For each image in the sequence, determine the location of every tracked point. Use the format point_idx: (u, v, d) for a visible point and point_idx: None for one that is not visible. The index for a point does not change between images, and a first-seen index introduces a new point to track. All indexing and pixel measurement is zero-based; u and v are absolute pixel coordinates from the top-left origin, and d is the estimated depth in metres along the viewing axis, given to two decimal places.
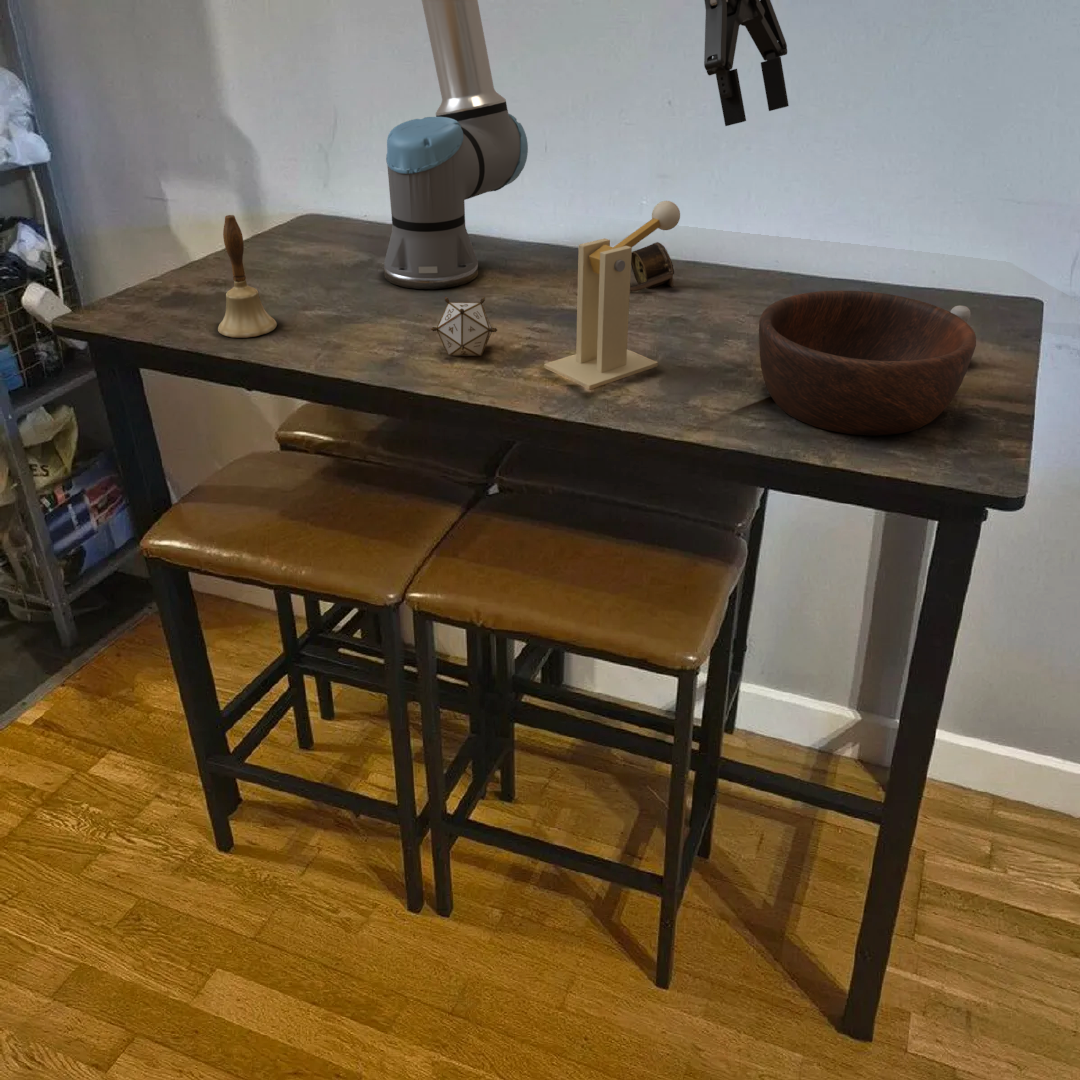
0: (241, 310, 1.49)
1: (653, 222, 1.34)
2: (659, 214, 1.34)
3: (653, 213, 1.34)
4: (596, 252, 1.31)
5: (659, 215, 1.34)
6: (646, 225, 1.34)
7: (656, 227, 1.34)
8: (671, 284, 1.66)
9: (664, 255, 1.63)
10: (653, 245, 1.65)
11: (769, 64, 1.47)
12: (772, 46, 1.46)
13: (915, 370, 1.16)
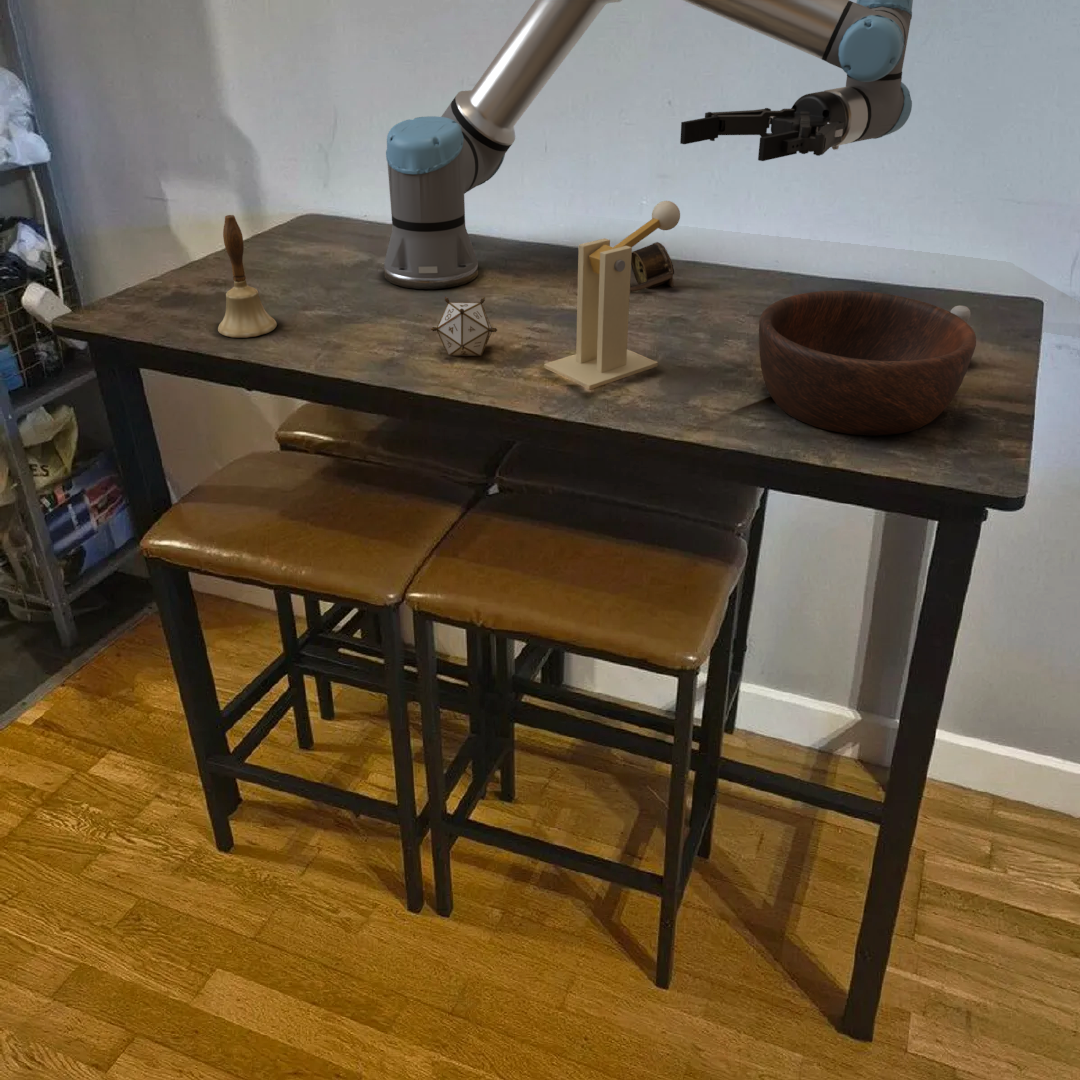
0: (241, 310, 1.49)
1: (653, 222, 1.34)
2: (659, 214, 1.34)
3: (653, 213, 1.34)
4: (596, 252, 1.31)
5: (659, 215, 1.34)
6: (646, 225, 1.34)
7: (656, 227, 1.34)
8: (671, 284, 1.66)
9: (664, 255, 1.63)
10: (653, 245, 1.65)
11: (715, 127, 1.43)
12: (727, 132, 1.45)
13: (915, 370, 1.16)
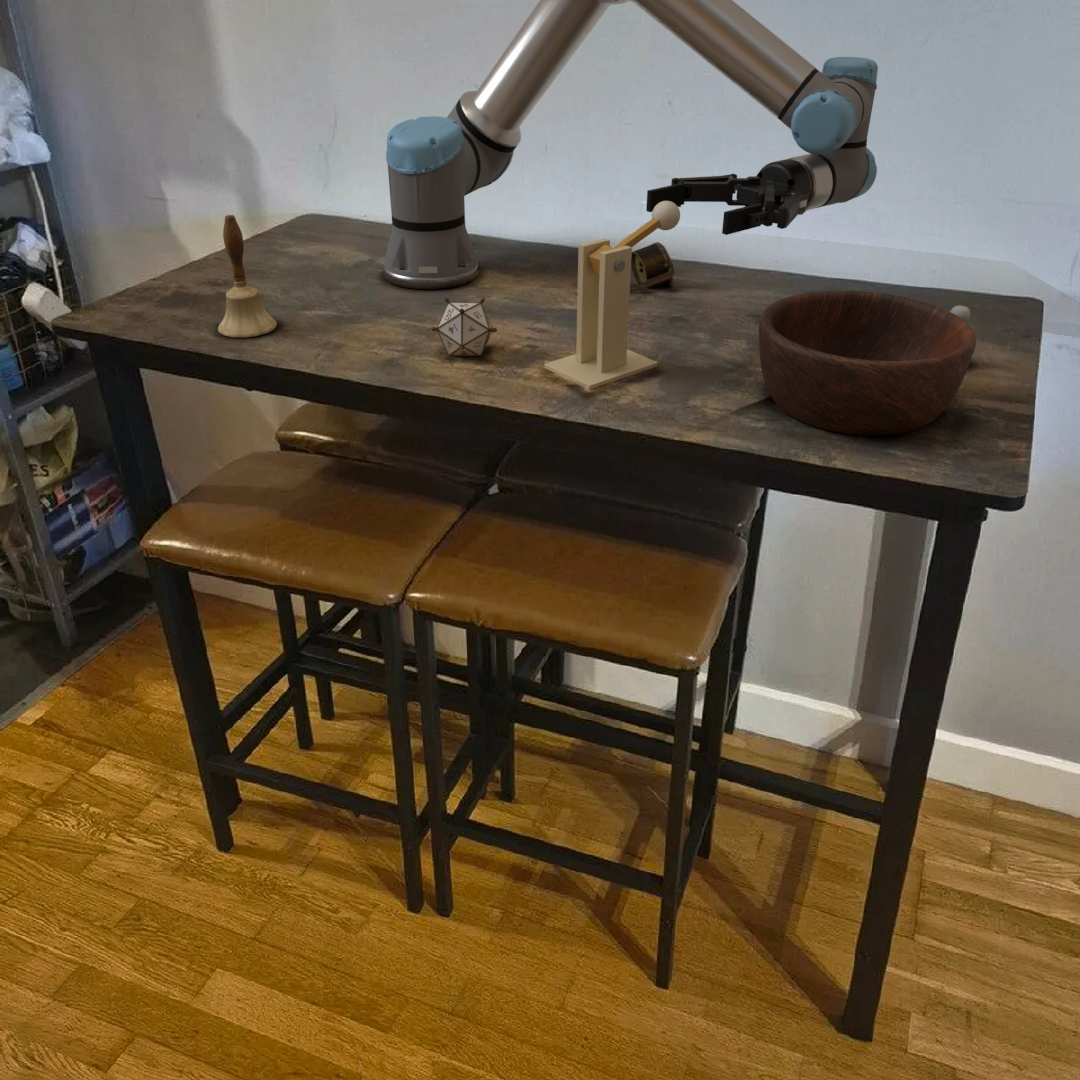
0: (241, 310, 1.49)
1: (653, 222, 1.34)
2: (659, 214, 1.34)
3: (653, 213, 1.34)
4: (596, 252, 1.31)
5: (659, 215, 1.34)
6: (646, 225, 1.34)
7: (656, 227, 1.34)
8: (671, 284, 1.66)
9: (664, 255, 1.63)
10: (653, 245, 1.65)
11: (682, 194, 1.44)
12: (693, 199, 1.46)
13: (915, 370, 1.16)
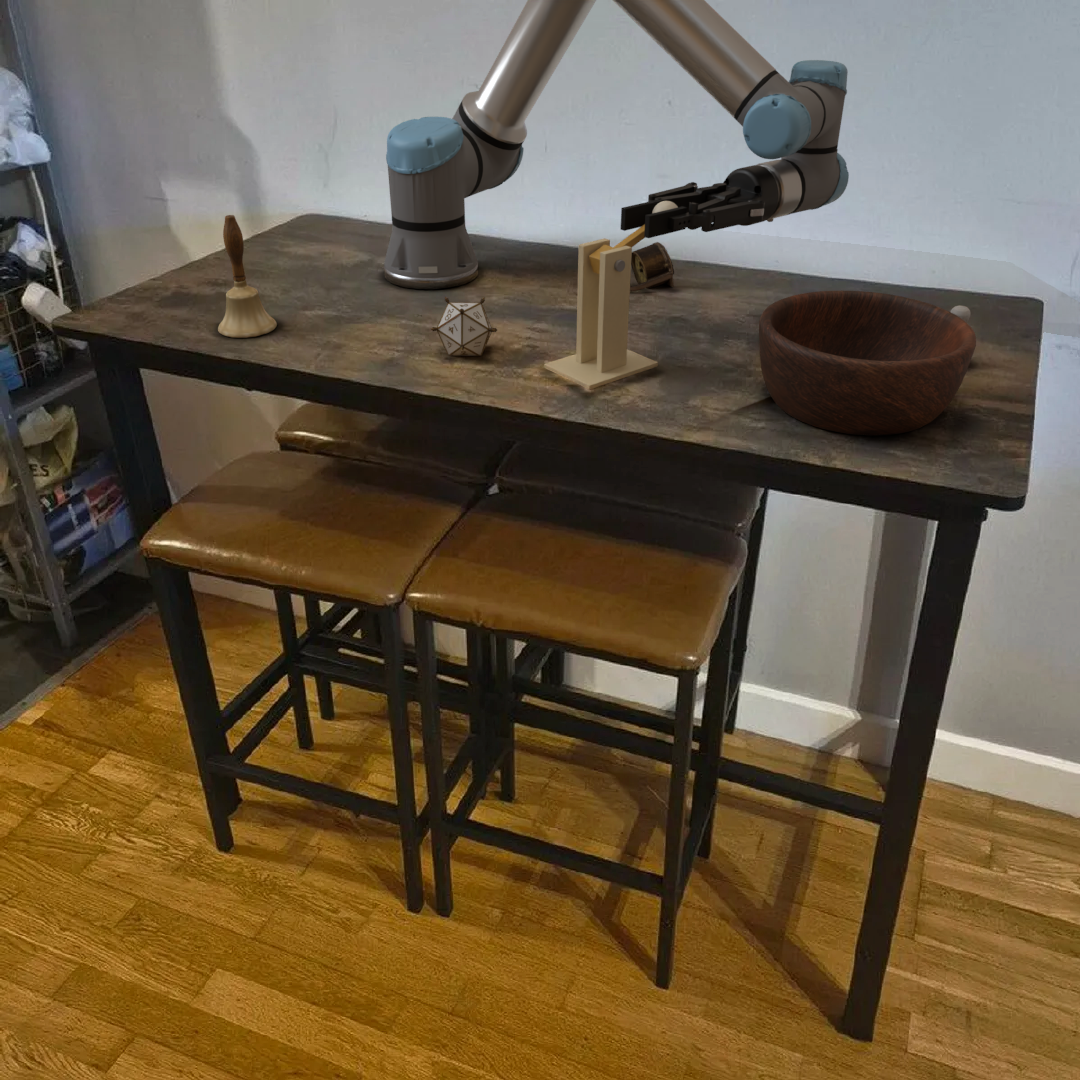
0: (241, 310, 1.49)
1: None
2: None
3: None
4: (596, 252, 1.31)
5: None
6: None
7: None
8: (671, 284, 1.66)
9: (664, 255, 1.63)
10: (653, 245, 1.65)
11: None
12: None
13: (915, 370, 1.16)
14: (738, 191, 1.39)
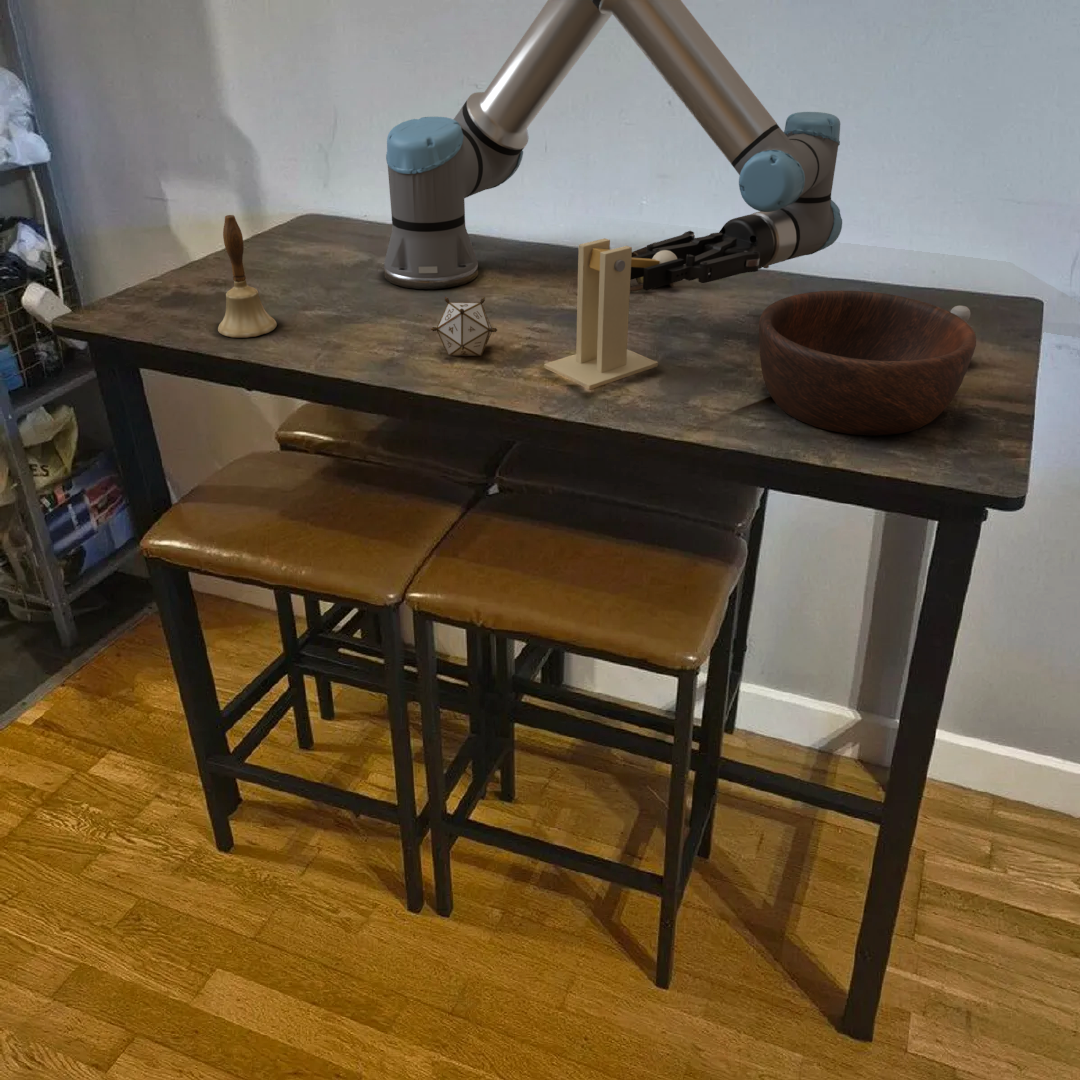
0: (241, 310, 1.49)
1: (654, 260, 1.37)
2: (661, 256, 1.37)
3: (655, 255, 1.38)
4: (600, 249, 1.31)
5: (661, 257, 1.37)
6: (647, 259, 1.36)
7: None
8: (671, 284, 1.66)
9: None
10: None
11: None
12: None
13: (915, 370, 1.16)
14: (734, 241, 1.43)
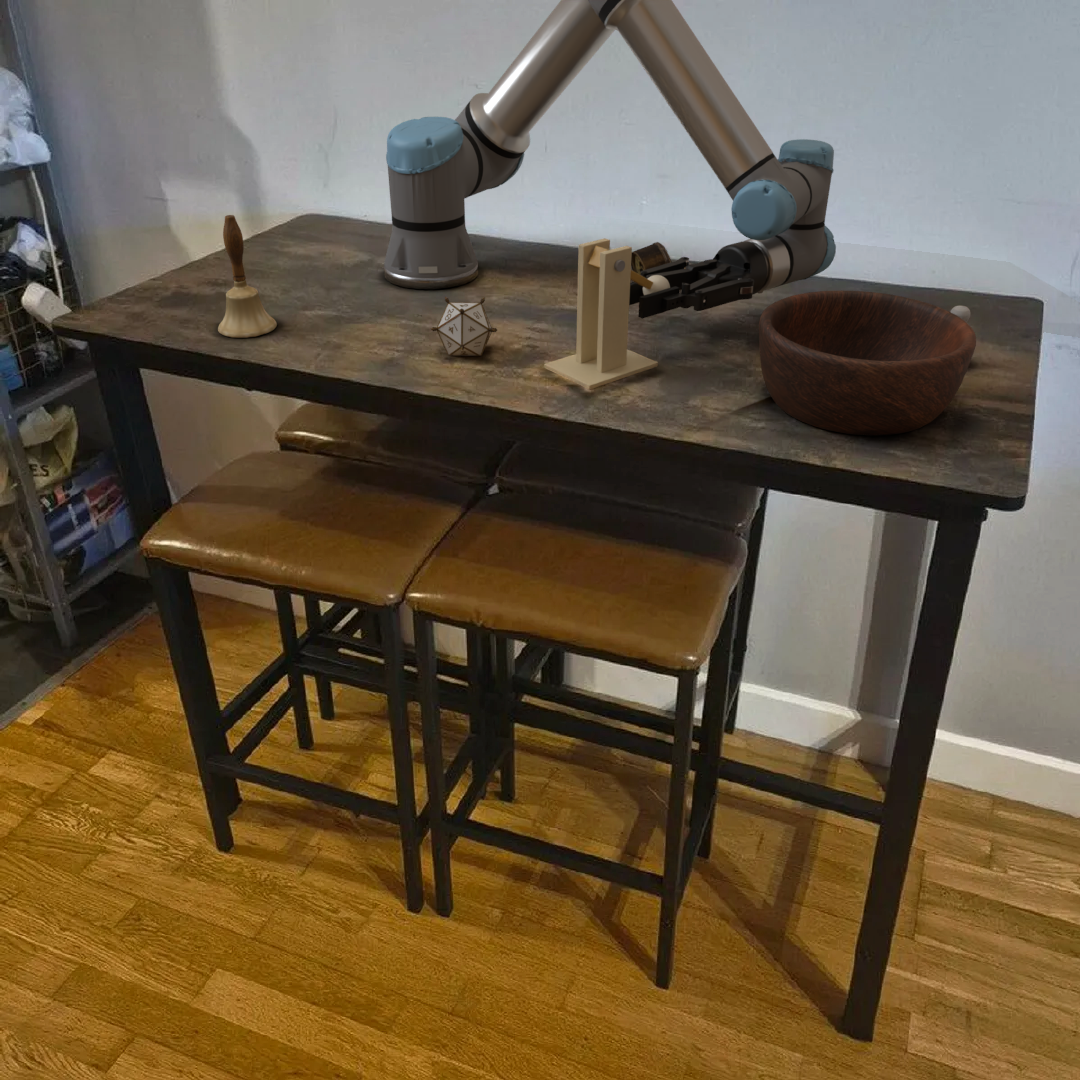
0: (241, 310, 1.49)
1: (648, 279, 1.37)
2: (655, 279, 1.38)
3: (649, 277, 1.39)
4: None
5: (655, 279, 1.38)
6: None
7: (648, 285, 1.38)
8: None
9: (664, 255, 1.63)
10: (653, 245, 1.65)
11: None
12: None
13: (915, 370, 1.16)
14: (728, 268, 1.44)
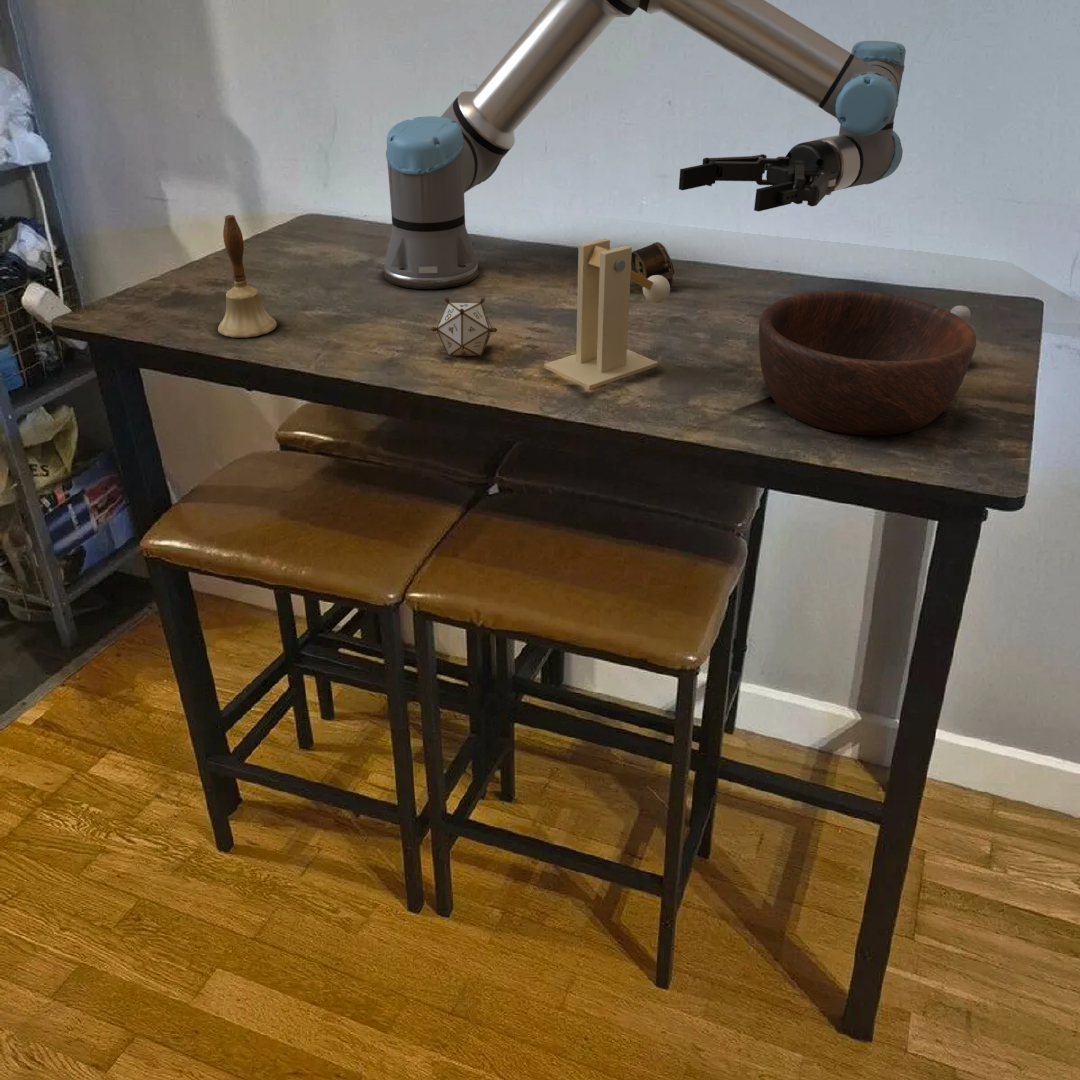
0: (241, 310, 1.49)
1: (648, 279, 1.37)
2: (655, 279, 1.38)
3: (649, 277, 1.39)
4: None
5: (655, 279, 1.38)
6: None
7: (648, 285, 1.38)
8: (671, 284, 1.66)
9: (664, 255, 1.63)
10: (653, 245, 1.65)
11: (713, 173, 1.48)
12: (723, 178, 1.49)
13: (915, 370, 1.16)
14: None
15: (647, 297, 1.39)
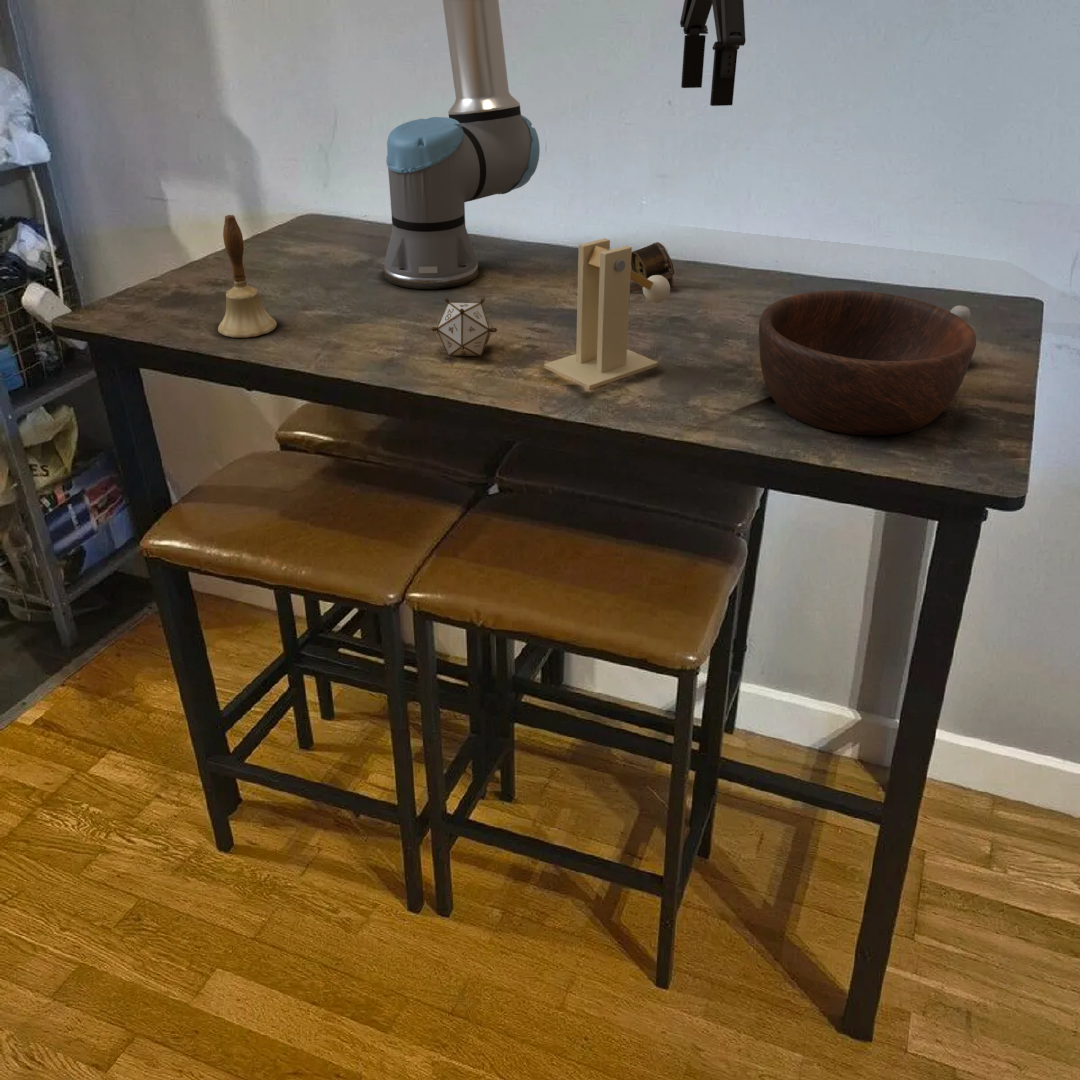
0: (241, 310, 1.49)
1: (648, 279, 1.37)
2: (655, 279, 1.38)
3: (649, 277, 1.39)
4: None
5: (655, 279, 1.38)
6: None
7: (648, 285, 1.38)
8: (671, 284, 1.66)
9: (664, 255, 1.63)
10: (653, 245, 1.65)
11: (694, 40, 1.43)
12: (703, 23, 1.42)
13: (915, 370, 1.16)
14: None
15: (647, 297, 1.39)
